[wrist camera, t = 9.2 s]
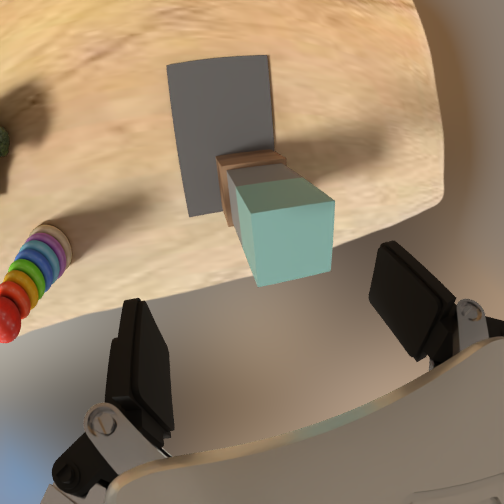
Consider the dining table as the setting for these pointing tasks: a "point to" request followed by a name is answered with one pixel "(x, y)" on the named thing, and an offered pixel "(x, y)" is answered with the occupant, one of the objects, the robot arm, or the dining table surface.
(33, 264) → the stacking toy
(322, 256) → the teal cube
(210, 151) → the mat
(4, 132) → the vegetable
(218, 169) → the tower base
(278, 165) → the tower mid
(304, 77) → the dining table surface
